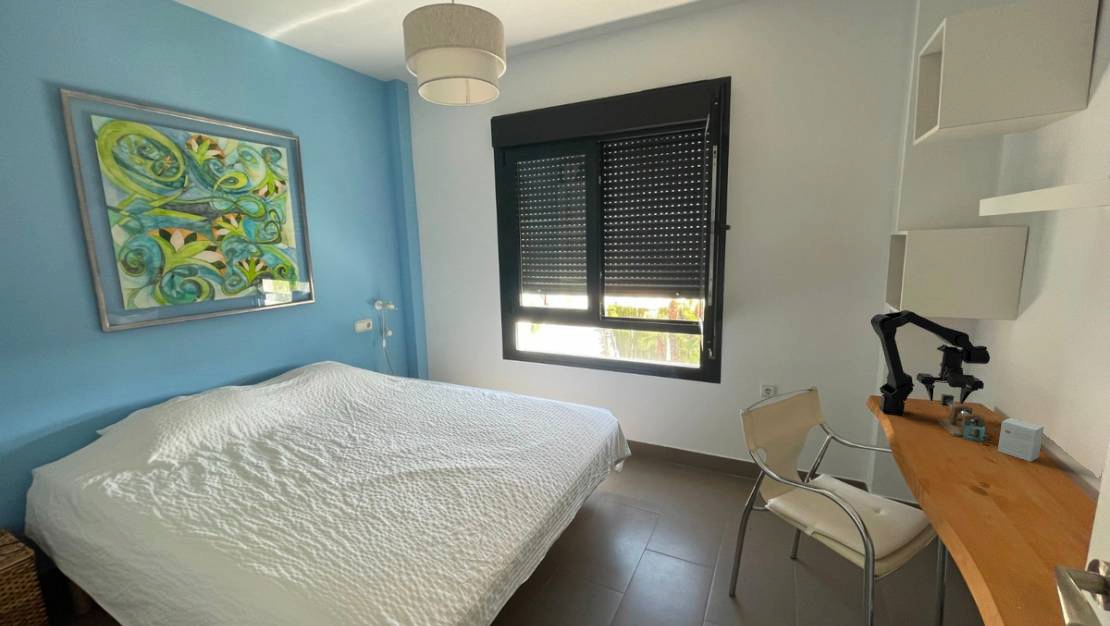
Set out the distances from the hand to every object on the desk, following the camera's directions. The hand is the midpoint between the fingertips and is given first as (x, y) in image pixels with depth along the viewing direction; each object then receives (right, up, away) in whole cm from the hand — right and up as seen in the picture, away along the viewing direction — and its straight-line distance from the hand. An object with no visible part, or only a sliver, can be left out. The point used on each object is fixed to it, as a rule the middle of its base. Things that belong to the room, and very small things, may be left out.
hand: (945, 402), depth 171 cm
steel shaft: (-4, -3, -9) cm, 10 cm away
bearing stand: (-5, -8, -12) cm, 15 cm away
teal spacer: (-8, -9, -19) cm, 23 cm away
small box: (-3, -11, -30) cm, 32 cm away
